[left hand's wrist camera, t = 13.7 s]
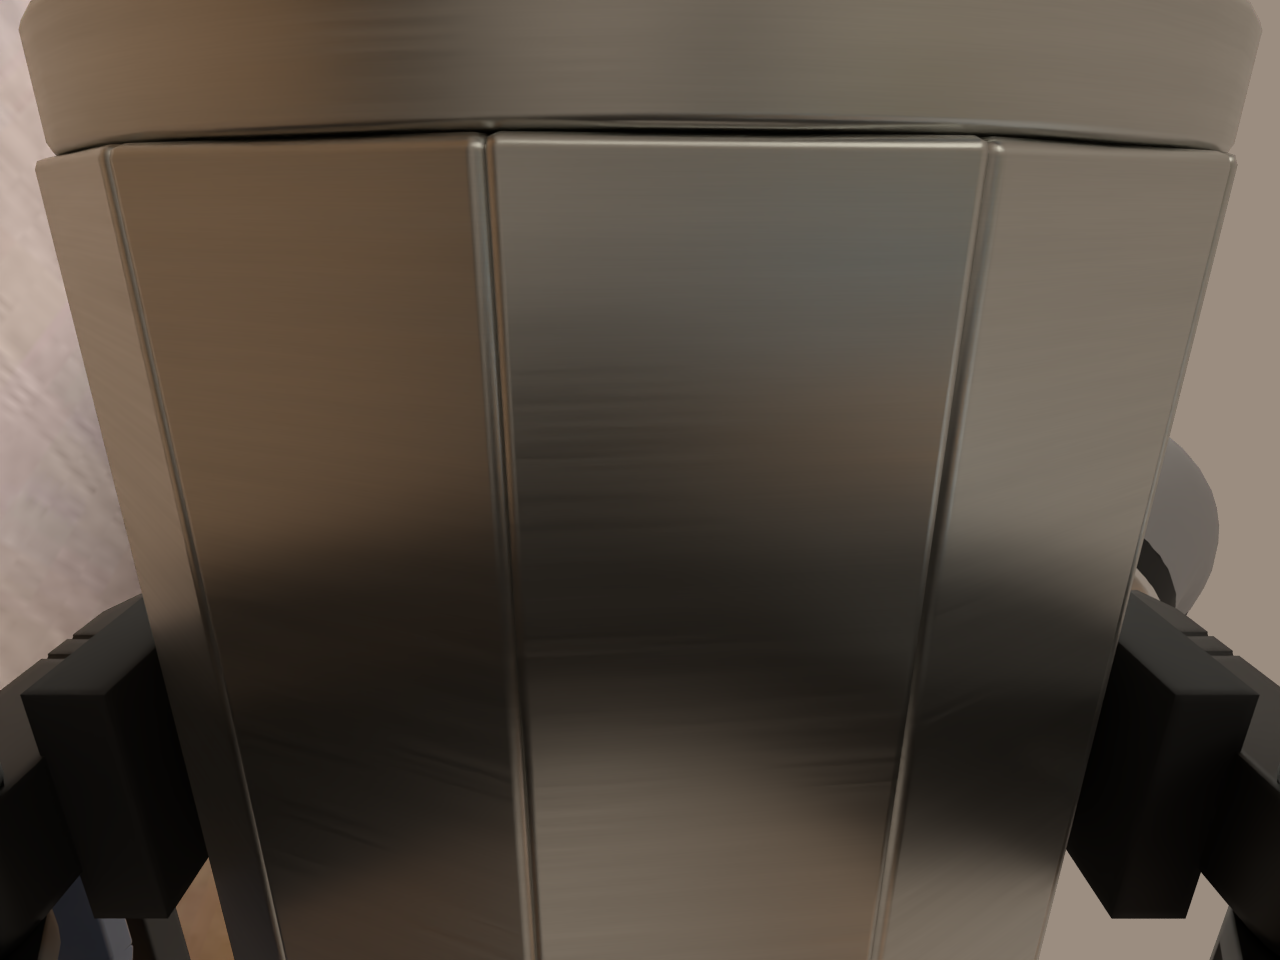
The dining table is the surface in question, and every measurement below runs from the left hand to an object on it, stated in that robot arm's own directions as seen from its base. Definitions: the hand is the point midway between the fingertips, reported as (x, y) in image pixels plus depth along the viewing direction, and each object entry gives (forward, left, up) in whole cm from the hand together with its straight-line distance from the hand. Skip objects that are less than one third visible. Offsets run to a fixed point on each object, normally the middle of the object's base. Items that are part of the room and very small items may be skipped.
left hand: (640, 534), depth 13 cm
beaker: (-7, -3, +1) cm, 8 cm away
